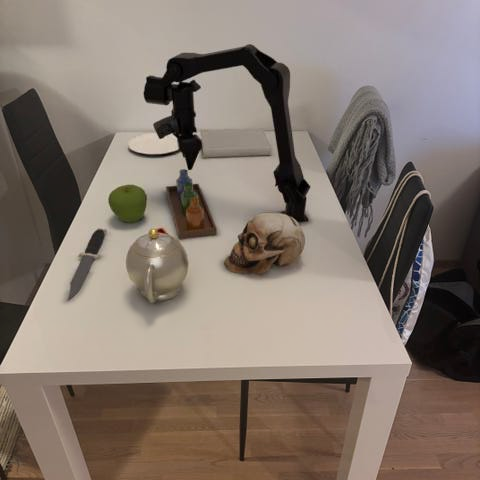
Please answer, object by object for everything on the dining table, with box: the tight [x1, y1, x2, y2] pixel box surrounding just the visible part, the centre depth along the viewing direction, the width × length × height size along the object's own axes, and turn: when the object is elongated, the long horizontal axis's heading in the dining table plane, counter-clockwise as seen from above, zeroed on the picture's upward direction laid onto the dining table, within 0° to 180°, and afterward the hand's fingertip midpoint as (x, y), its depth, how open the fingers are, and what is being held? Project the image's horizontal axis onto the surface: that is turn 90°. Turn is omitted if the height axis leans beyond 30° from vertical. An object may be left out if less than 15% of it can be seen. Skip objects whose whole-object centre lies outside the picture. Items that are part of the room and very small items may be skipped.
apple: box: [107, 184, 148, 224], centre depth 132 cm, size 11×10×10 cm
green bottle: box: [181, 183, 198, 216], centre depth 135 cm, size 5×5×8 cm
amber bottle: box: [186, 198, 205, 230], centre depth 128 cm, size 5×5×8 cm
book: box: [199, 127, 272, 159], centre depth 176 cm, size 18×4×24 cm
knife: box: [67, 227, 108, 301], centre depth 118 cm, size 30×2×5 cm
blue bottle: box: [175, 168, 194, 200], centre depth 142 cm, size 5×5×8 cm
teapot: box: [125, 226, 189, 304], centre depth 104 cm, size 18×14×16 cm
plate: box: [127, 132, 179, 156], centre depth 176 cm, size 21×21×2 cm
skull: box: [223, 212, 306, 276], centre depth 117 cm, size 16×17×13 cm
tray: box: [165, 183, 218, 240], centre depth 138 cm, size 28×10×2 cm, turn 14°
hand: (187, 163), depth 138 cm, fingers open, 9 cm apart
